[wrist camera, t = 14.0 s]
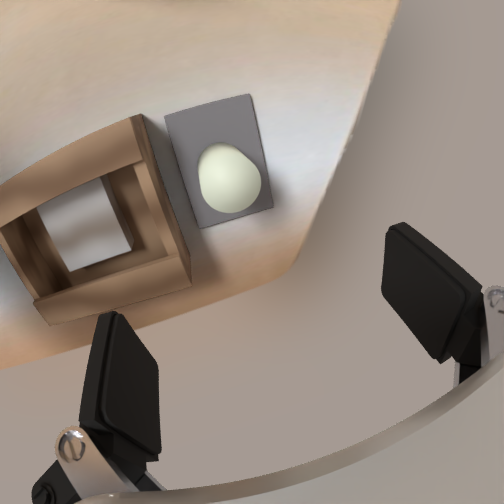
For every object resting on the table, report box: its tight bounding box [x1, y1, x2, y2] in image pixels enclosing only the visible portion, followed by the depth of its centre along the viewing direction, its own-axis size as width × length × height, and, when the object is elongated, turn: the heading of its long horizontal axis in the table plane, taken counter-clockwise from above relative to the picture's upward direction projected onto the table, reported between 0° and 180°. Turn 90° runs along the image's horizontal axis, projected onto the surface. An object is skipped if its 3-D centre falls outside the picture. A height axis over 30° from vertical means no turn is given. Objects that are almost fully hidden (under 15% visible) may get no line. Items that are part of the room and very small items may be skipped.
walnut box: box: [0, 114, 192, 326], centre depth 24 cm, size 16×18×6 cm
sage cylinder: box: [197, 142, 261, 213], centre depth 23 cm, size 4×4×7 cm
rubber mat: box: [164, 94, 273, 229], centre depth 26 cm, size 12×8×1 cm, turn 12°
